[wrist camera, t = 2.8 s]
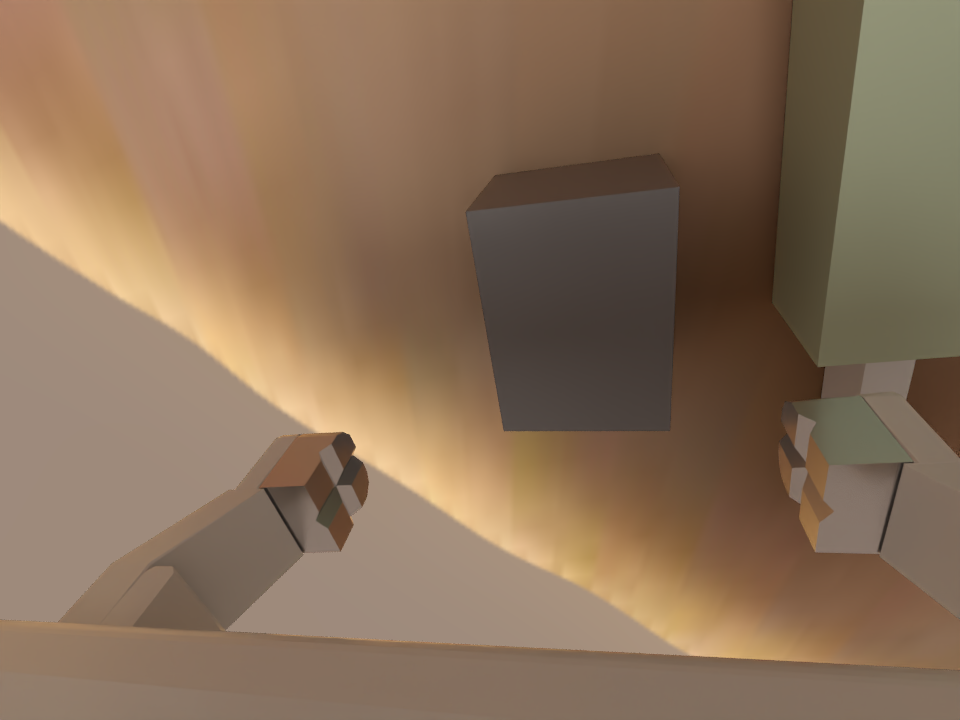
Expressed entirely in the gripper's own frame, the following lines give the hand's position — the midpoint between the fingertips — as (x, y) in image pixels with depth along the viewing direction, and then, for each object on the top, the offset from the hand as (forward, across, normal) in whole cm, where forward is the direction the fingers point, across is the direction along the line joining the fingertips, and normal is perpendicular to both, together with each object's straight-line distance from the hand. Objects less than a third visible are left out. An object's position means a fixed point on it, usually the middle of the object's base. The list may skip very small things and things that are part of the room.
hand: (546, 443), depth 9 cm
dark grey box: (+9, +1, 0) cm, 9 cm away
